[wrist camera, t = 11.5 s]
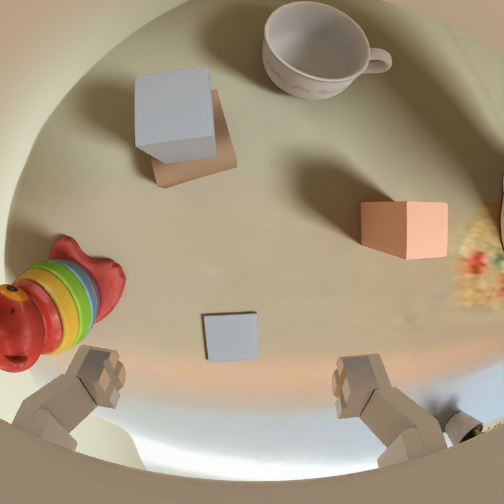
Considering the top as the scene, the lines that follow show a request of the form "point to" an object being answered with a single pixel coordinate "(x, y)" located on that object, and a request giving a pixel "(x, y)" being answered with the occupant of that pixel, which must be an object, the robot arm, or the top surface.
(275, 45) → the teacup
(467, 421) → the house plant
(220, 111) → the walnut block
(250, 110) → the top surface
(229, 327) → the slate swatch
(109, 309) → the stacking bear
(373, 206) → the terracotta pillar
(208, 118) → the slate pillar
